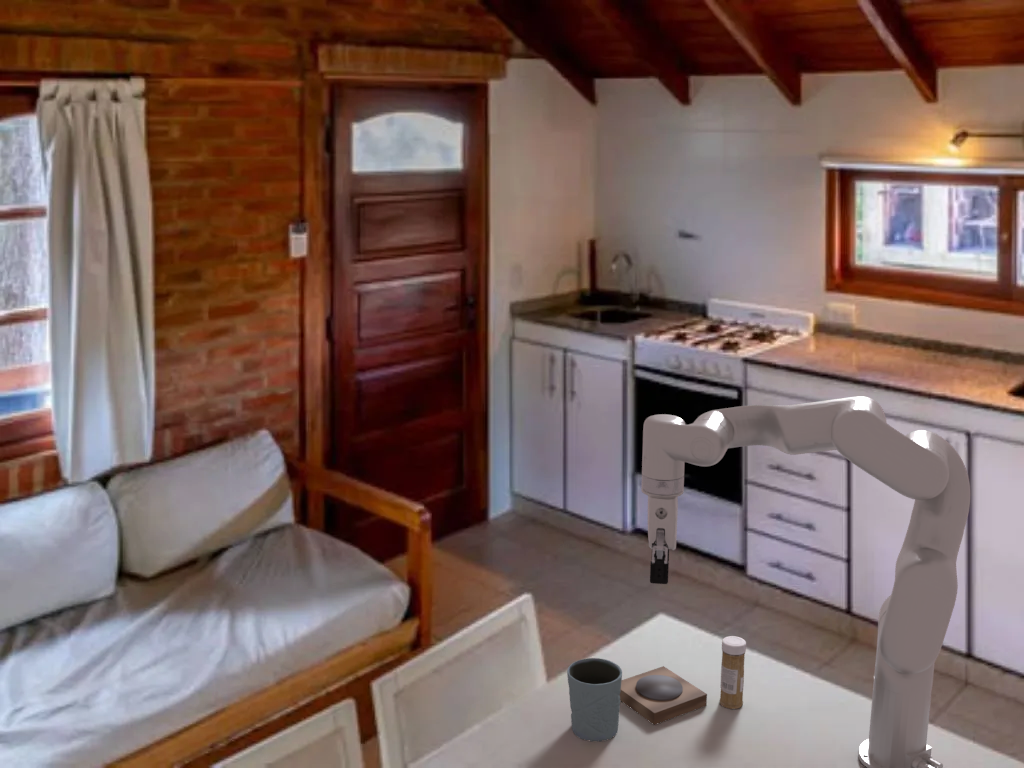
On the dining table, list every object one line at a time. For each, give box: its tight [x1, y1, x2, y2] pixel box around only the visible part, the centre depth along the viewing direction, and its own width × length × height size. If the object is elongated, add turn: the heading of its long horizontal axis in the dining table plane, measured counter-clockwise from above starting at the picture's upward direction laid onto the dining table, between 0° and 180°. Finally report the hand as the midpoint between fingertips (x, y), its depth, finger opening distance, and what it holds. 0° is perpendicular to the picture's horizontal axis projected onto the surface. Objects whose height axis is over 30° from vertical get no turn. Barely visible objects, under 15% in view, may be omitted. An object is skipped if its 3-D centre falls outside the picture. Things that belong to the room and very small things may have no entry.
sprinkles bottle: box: [719, 635, 747, 710], centre depth 209 cm, size 5×5×14 cm
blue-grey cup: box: [566, 657, 623, 742], centre depth 201 cm, size 10×10×12 cm
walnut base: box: [620, 665, 708, 726], centre depth 212 cm, size 13×13×3 cm
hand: (659, 572), depth 199 cm, fingers open, 9 cm apart
